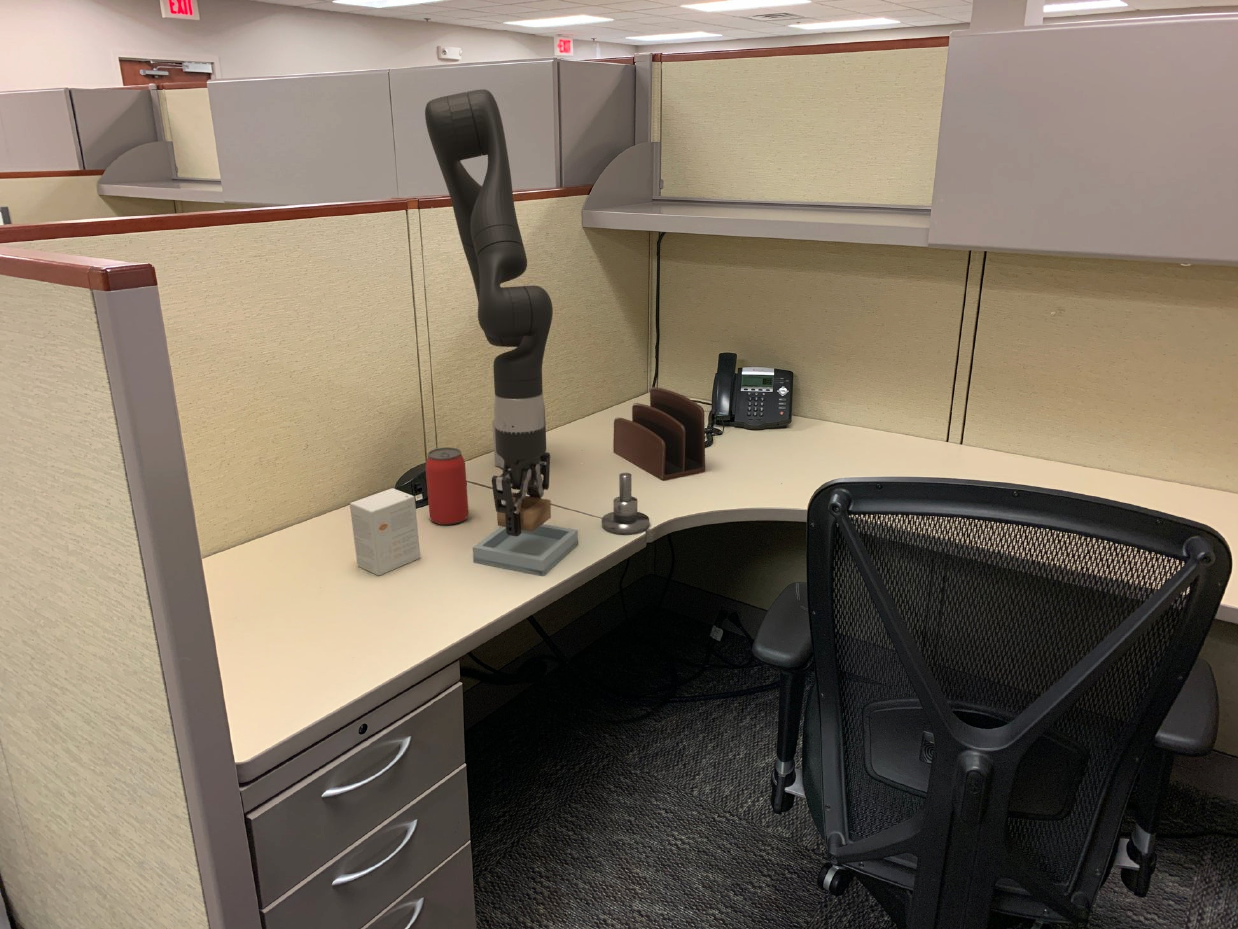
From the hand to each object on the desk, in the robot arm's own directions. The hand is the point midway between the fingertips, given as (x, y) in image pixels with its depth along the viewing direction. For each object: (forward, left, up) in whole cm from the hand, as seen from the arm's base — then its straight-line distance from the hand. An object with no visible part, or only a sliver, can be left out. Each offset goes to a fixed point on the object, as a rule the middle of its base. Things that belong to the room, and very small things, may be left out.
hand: (524, 526), depth 134 cm
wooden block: (0, 0, +1) cm, 1 cm away
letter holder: (+4, +48, -5) cm, 49 cm away
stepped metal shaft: (+10, +16, -5) cm, 20 cm away
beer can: (-19, +7, -5) cm, 21 cm away
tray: (0, 0, -5) cm, 5 cm away
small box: (-18, -11, -5) cm, 21 cm away
